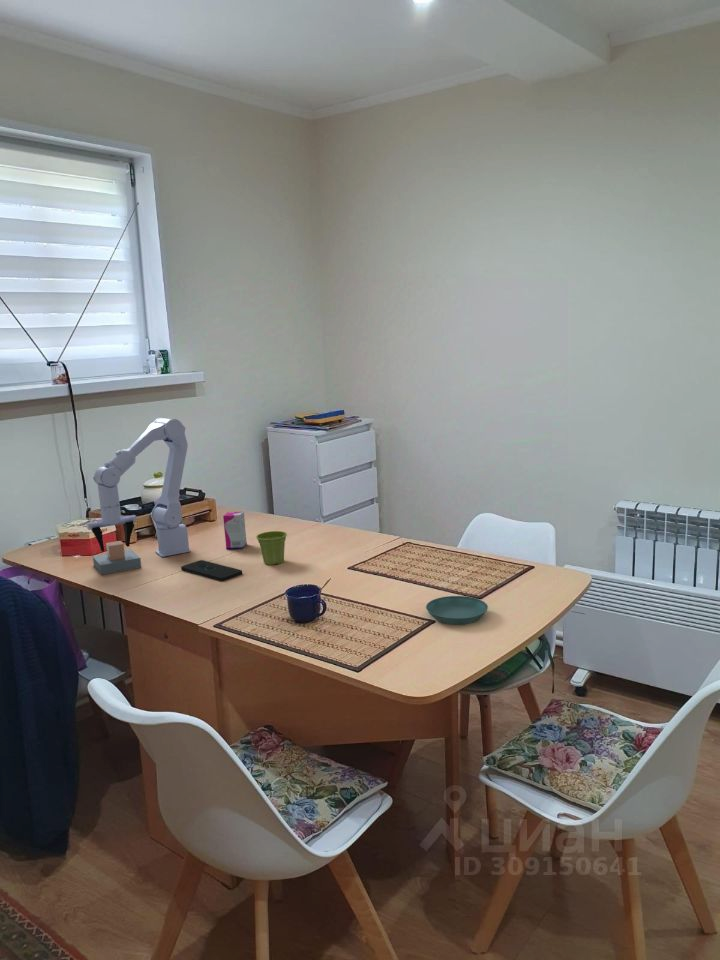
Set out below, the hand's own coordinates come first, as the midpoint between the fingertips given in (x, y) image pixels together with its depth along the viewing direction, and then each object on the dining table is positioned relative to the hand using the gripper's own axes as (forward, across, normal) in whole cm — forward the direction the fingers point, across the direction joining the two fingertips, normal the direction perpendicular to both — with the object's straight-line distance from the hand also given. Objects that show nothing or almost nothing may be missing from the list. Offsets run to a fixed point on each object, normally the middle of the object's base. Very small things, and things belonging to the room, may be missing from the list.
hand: (115, 548), depth 236 cm
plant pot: (+6, +41, -28) cm, 50 cm away
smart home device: (+7, +22, -25) cm, 34 cm away
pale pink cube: (+3, 0, 0) cm, 3 cm away
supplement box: (+6, +38, -4) cm, 39 cm away
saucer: (+6, +59, -97) cm, 114 cm away
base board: (+6, 0, 0) cm, 6 cm away
